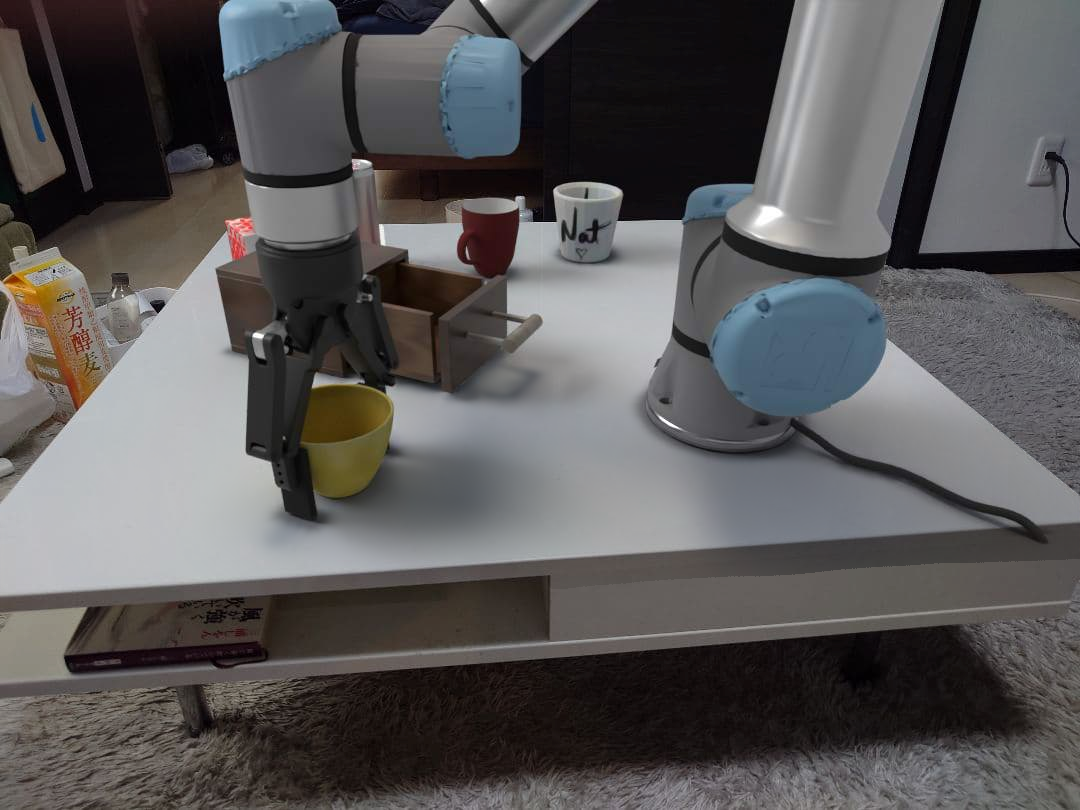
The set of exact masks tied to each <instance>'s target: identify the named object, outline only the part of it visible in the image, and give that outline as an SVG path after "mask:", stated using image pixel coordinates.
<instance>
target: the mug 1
mask: <svg viewBox="0 0 1080 810" xmlns="http://www.w3.org/2000/svg"><path fill="white" fill-rule="evenodd" d="M461 225H462V231H463V232H462V233H460V235H459V237H458V240H457V244H456V253H457V254H456V255H457V259H458V260H459V261H460V263H462V264H464V265H467V266H472V267H473V269H474V270H475V271H476V273H477V274H478V276H483V277H484V279H493V278H494V277H495V276H497V275H502V276H506V275H505V274H506V273H507V271H508V269H509V268H510V266H511V264H512V262H513V260H514V257H515V253H516V246H517V241H518V234H519V231H520V204H519V203H518V202H516V201H514V200H512V199H508V198H501V197H478V198H473V199H470V200H466V201H464V202H463V203H462V204H461ZM467 254H468V255H467ZM468 258H469V259H468Z"/></svg>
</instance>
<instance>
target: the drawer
mask: <svg viewBox="0 0 1080 810" xmlns="http://www.w3.org/2000/svg"><path fill="white" fill-rule="evenodd" d="M374 276H376V277H378V278H379V280H380V292H381V302H382V306H383V309H384V312H385V315H386V318H387V322H388V325H389V328H390V331H391V335H392V338H393V341H394V344H395V348H396V351H397V354H398V357H399V367H398V368H397V369H396V370H391V371H390V372H389V373H390V374H394V375H396V376H401V377H405V378H409V379H414V380H418V381H423V382H427V383H431V384H435V383H436V382H438V381H439V380H441V392H443V393H447V394H451V395H453V393H455V392H456V391H457V390H458V389H459V388H460V387H461V386H462V385H463V384H465V382H466V381H468V380H469V379H470V378H471V377H472V376H473V375H474V374H475V373H477V371H479V370H480V369H481V368H482V367H484V365H485V364H486V363H487V362H488V361H490V360H491V358H493V357H494V356H495V355H496V354H497V353H498V352H500V350H501V349H502V350H503V351H504V352H505V353H507V354H513V353H515V352H516V351H517V350H518V349H519V348H520V347H521V346H522V345H523V344H524V343H525V342H526V341H527V340H528V339H529V338H531V336H533V335H534V334H535V333H536V332H537V330H539V329H540V328H541V327H542V326H543V323H544V322H543V317H541V315H539V314H538V313H532V314H531V315H530V316H529V317H528V316H523V315H522V316H521V315H517V314H512V313H508V276H507V275H503V276H502V275H497V276H495V277H494V278H490V279H489V280H488V281H487V282H486V283H485V277H483V276H480V275H479V274H478V275H477V274H471V273H466V272H461V271H456V270H449V269H444V268H438V267H433V266H426V265H421V264H416V263H410V262H409V263H405V262H400V261H399V262H397V263H395V264H393V265H392V266H390V267H388V268H387V269H385V270H383V271H381V272H380V273H378V274H376V275H374ZM508 322H513V323H519V324H520V325H518V326H517V327H516V328H515V329H513V331H512V332H511V333H510V334H509V335H508ZM380 354H384V353H383V352H381V351H380ZM346 363H349V362H348V361H347V359H346Z"/></svg>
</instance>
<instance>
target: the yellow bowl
mask: <svg viewBox="0 0 1080 810" xmlns="http://www.w3.org/2000/svg"><path fill="white" fill-rule="evenodd" d="M394 415H395V406H394V402H393V401H392V399H391V397H389V396H388V395H387V393H386V394H385V393H383V392H381V391H379V390H377V389H375V388H372V387H368V386H364V385H358V384H357V383H346V382H345V383H328V384H320V385H315V386H312V389H311V394H310V399H309V403H308V408H307V413H306V417H305V422H304V427H303V432H302V436H301V441H300V446H299V447H300V448H304V449H307V452H308V458H309V464H310V471H311V477H312V483H313V489H314V493H316V494H319V495H320V496H323V497H327V498H333V499H334V498H337V499H338V498H346V497H351V496H353V495H356V494H358V493H360V492H361V491H363V490H364V489H366V488H367V487H368V486H369V484H370V483H371V482H372V480H373V478H374V477H375V476H376V474H377V472H378V470H379V468H380V466H381V464H382V462H383V460H384V458H385V455H386V453H387V452H386V449H387V446H388V443H390V439H391V435H392V430H393V423H394ZM283 439H284V440H285V437H284V436H283ZM385 452H386V453H385Z"/></svg>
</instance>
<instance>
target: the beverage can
mask: <svg viewBox="0 0 1080 810" xmlns="http://www.w3.org/2000/svg"><path fill="white" fill-rule="evenodd" d="M352 165H353V173H354V181H355V190H356V199H357V207H358V216H359V225H358V227H357V228H356V229H355V230H354V231H355V232H356V233H357V234H358V235H359V237H360V241H361V242H367V243H372V244H378V245H382V241H381V232H380V220H379V219H380V218H379V207H378V198H377V187H376V186H377V185H376V175H375V170H374V168H373V163H372V161H370V160H366V159H357V158H352Z"/></svg>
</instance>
